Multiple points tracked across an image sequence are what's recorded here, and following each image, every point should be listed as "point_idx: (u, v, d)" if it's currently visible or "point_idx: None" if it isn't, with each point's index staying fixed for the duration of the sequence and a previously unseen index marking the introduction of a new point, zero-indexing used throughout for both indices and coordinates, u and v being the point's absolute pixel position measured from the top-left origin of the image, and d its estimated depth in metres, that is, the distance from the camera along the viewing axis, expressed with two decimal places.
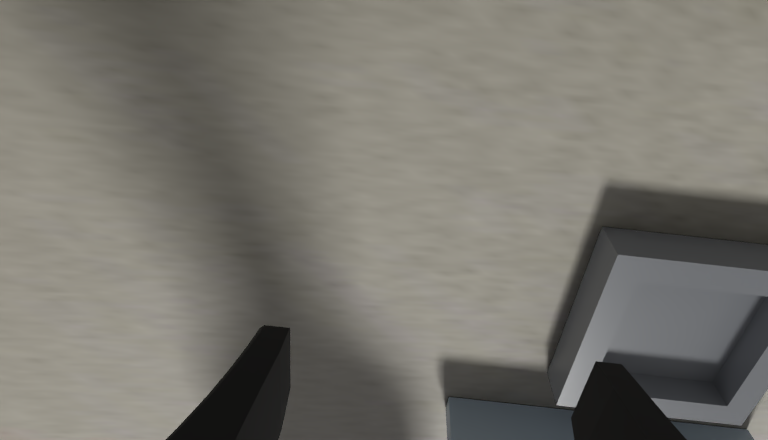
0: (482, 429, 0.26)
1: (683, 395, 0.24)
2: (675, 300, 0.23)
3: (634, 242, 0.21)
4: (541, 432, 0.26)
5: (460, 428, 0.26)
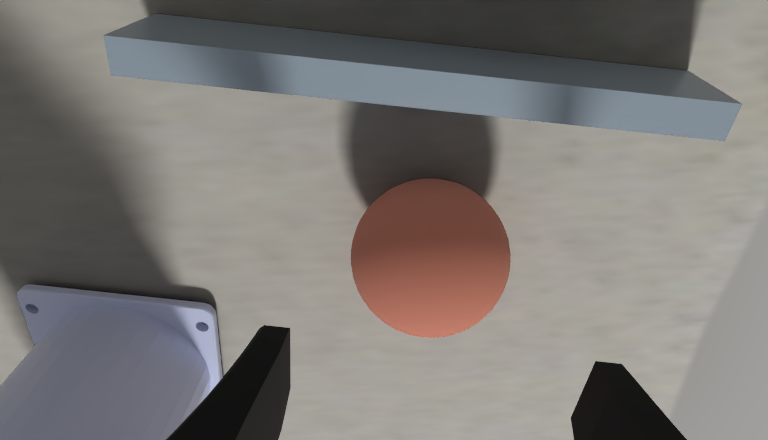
0: (186, 31, 0.14)
1: None
2: None
3: None
4: (300, 42, 0.14)
5: (143, 28, 0.14)
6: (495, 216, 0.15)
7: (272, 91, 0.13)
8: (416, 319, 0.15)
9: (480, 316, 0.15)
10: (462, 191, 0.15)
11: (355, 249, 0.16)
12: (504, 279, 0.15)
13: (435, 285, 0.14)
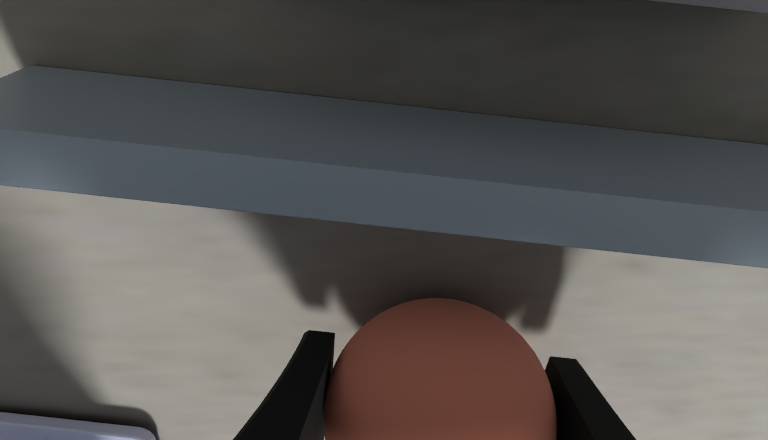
0: (58, 103, 0.09)
1: None
2: None
3: None
4: (238, 118, 0.09)
5: None
6: (536, 367, 0.10)
7: (188, 203, 0.08)
8: None
9: None
10: (487, 332, 0.10)
11: (328, 413, 0.11)
12: None
13: None
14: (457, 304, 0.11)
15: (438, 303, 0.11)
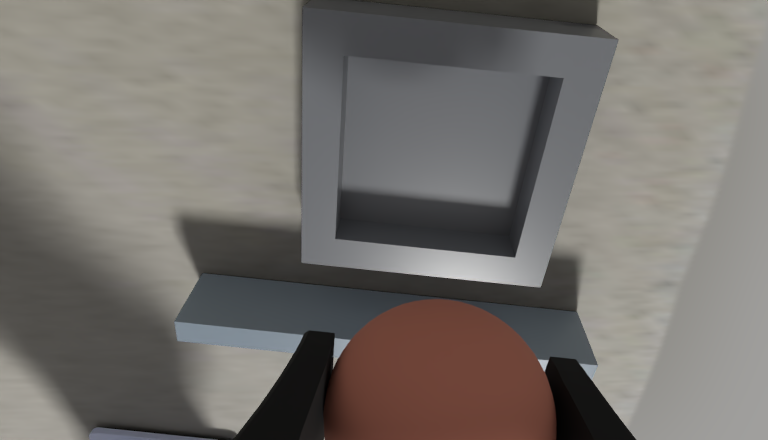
0: (226, 304, 0.20)
1: (462, 246, 0.19)
2: (429, 107, 0.17)
3: (343, 4, 0.15)
4: (304, 309, 0.21)
5: (198, 303, 0.20)
6: (536, 369, 0.10)
7: (285, 351, 0.20)
8: None
9: None
10: (487, 333, 0.10)
11: (328, 415, 0.11)
12: None
13: None
14: (457, 305, 0.11)
15: (438, 304, 0.11)
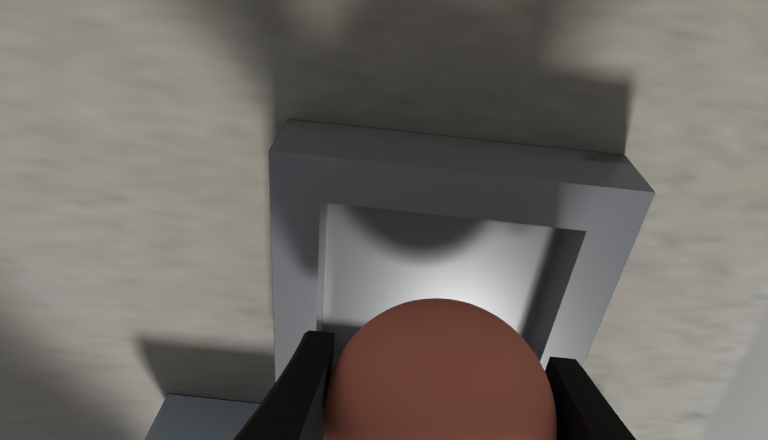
0: None
1: None
2: (425, 241, 0.14)
3: (320, 137, 0.13)
4: None
5: (159, 439, 0.18)
6: (536, 368, 0.10)
7: None
8: None
9: None
10: (487, 333, 0.10)
11: (328, 414, 0.11)
12: None
13: None
14: (457, 304, 0.11)
15: (438, 303, 0.11)
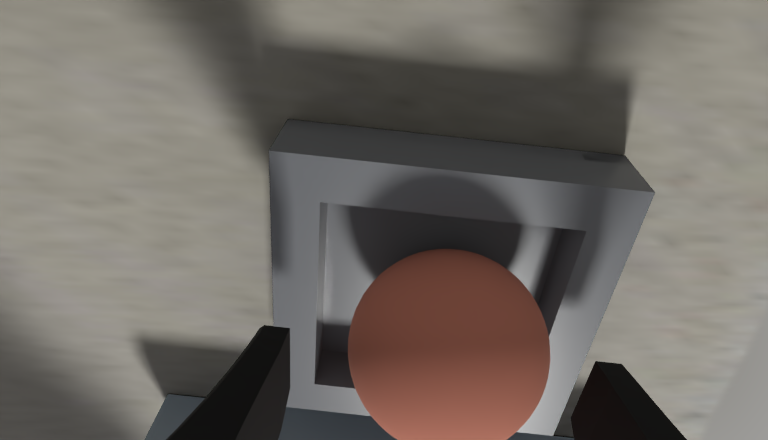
0: None
1: None
2: (425, 241, 0.14)
3: (320, 138, 0.13)
4: None
5: (159, 439, 0.18)
6: (530, 296, 0.12)
7: None
8: None
9: (522, 425, 0.12)
10: (489, 269, 0.12)
11: (357, 354, 0.12)
12: None
13: (473, 407, 0.11)
14: (458, 251, 0.13)
15: (442, 251, 0.13)
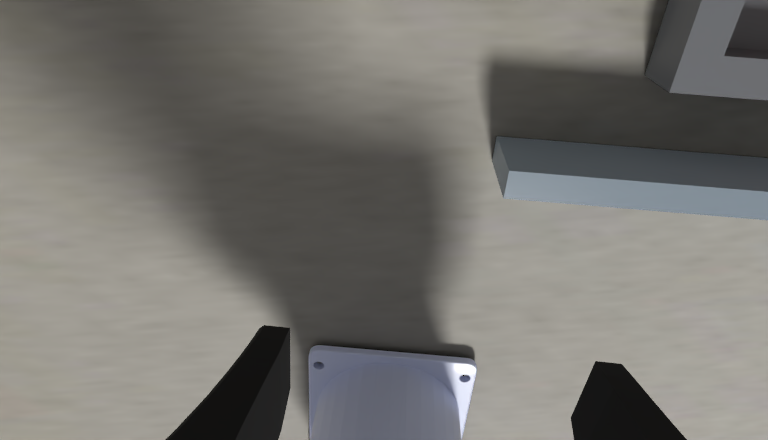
0: (551, 159, 0.18)
1: None
2: None
3: None
4: (639, 164, 0.18)
5: (519, 157, 0.17)
6: None
7: (632, 208, 0.17)
8: None
9: None
10: None
11: None
12: None
13: None
14: None
15: None
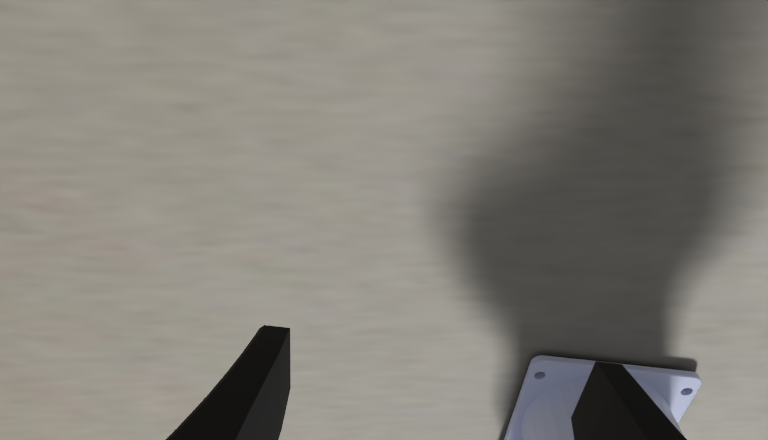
0: None
1: None
2: None
3: None
4: None
5: None
6: None
7: None
8: None
9: None
10: None
11: None
12: None
13: None
14: None
15: None
